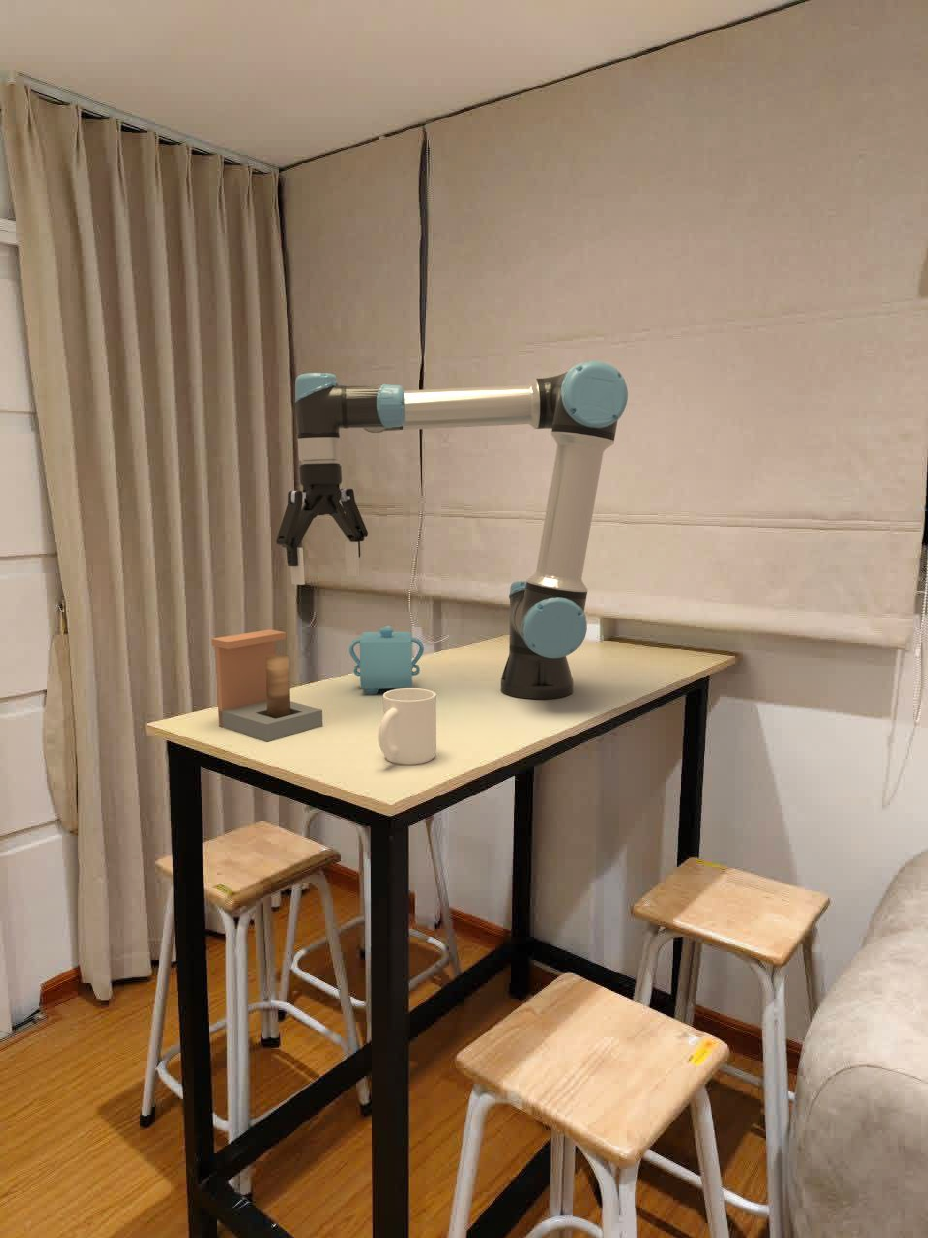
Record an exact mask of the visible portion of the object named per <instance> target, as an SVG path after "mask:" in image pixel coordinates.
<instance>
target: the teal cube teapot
mask: <svg viewBox="0 0 928 1238" xmlns="http://www.w3.org/2000/svg"><path fill="white" fill-rule="evenodd" d="M378 630H379V631H363V632H362V633H361V637H360V638H356V639H354V640H352V641H351V643H350V644H349V646H348V653H349V655H350V657H351V658H352V660H353V661H354V663H355V664H357V665H355V666H354V667H353V674H354V675H355V676H356V677H359V678H360V679H359V680H360V681H359V683H360V689H366V690H365V692H364V694H367V695H376V694H378V692H379V689H401V688H413V677H416V676H418V675H419V674H420V673H421V672H420V671H421V669H420V667H419V666H420V665H418V664H417V663H418V661H419V660H420V659H421V657H422V656H423V655H424V649H425V647H424V644H423V642H422V641H421V640H420V639H419V638H416V637H412V631H394V628H392V627H391V626H390V625H385V626H384V627H380V628H379V629H378ZM412 643H415V644H416V645H418V646H419V649H418V651H417V654H416V655H415V657H414V658H413V656H412V655H413V654H412V647H413V646H412ZM357 644H359V658H358V656H357V655H356V653H355V652H354V647H355V646H357ZM413 668H415V669H416V670H415V671H413ZM358 669H359V671H358Z"/></svg>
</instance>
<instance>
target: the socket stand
mask: <svg viewBox="0 0 928 1238" xmlns="http://www.w3.org/2000/svg"><path fill="white" fill-rule="evenodd" d="M287 638H288V637H287V632H286V631H281V630H276V629H271V628H270V629H264V630H259V631H251V632H245V633H239V634H233V635H227V636H220V637H214V638H211V646H213V647H214V649H215V671H216V673H215V674H216V689H217V690H216V691H217V712H218V713H217V714H218V715H217V716H218V727H220V728H224V729H226V730H230V731H233V732H235V733H239V734H243V735H245V736H248V737H251V738H255V739H258V740H260V741H264V742H271V741H275V740H278V739H281V738H282V739H283V738H285V737H288V736H293V735H295V734H298V733H303V732H306V731H309V730H314V729H316V728H320V727H321V728H322V727H323V709H321V708H316V707H313V706H310V705H305V704H302V703H298V702H293V701H291V700H290V715H288V716H284V717H281V718H277V719H275V718H271V717H268V716H267V696H266V664H265V657H266V656H268V655H273V654H277V653H276V641H281V640H282V641H283V640H287Z"/></svg>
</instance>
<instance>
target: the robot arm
mask: <svg viewBox="0 0 928 1238" xmlns="http://www.w3.org/2000/svg"><path fill="white" fill-rule="evenodd" d="M294 386H295V387H294V388H295V389H294V392H295V393H294V394H295V396H294V398H295V399H294V406H295V416H296V417H295V419H296V433H297V448H298V449H297V450H298V460H299V461H300V462H301V463H302V464H300V465H299V466H298V469H299V483H300V485H301V486H302V491H301V490H290V491H289V492H288V493H287V506H286V509H285V512H284V516H283V518H282V522H281V525H280V529H279V531H278V534H277V536H276V540H275V542H276V544H277V546H278V545H281V547H282V548H286V558H287V561H286V562H287V565H288V566H289V567H290V579H291V581H290V583H291V585H298V586H299V585H300V586H302V585H303V586H304V585H306V582H305V568H304V567H305V565H304V564H305V563H304V549H303V547H300V545H301V543H302V541H303V539H304V537H305V535H306V533H307V532H308V530H309V528H310V526H311V525H312V523H313V520H314V519H315V518H317V517H318V516H324V515H329V516H330V517H332V518H333V519H334V521H335V522H336V524H337V525H338V527H339V528H340V530H341V531H342V532H343V534H344V536H345V537H346V538H347V539H348V541H345V542H344V544H345V545H344V546H345V547H344V548H345V549H344V550H345V564H346V565H345V567H346V568H345V570H346V576H347V577H360V576H361V575H360V558H361V542H363V541H364V540H365V538H367V537H368V536H369V532H368V530H367V527H366V524H365V523H364V522H365V521H364V520H363V518H362V516H361V515H362V514H361V513H360V510H359V508H358V505H357V503H356V500H355V493H354V489H353V488H341V487H340V485H341V484H342V483H343V474H342V473H343V471H342V470H343V469H342V465H341V463H339V461H341V460H342V455H341V454H342V453H341V452H342V451H341V439H340V438H341V434H340V431H341V429H363V430H365V431H366V432H368V433H372V434H376V433H377V434H380V433H383V432H393V431H394V432H396V431H406V430H407V431H411V430H412V431H413V430H433V429H434V430H435V429H450V428H451V429H454V428H455V429H456V428H471V427H472V428H473V427H475V428H477V427H493V426H494V427H498V426H515V425H516V426H517V425H518V426H519V425H530V426H531V427H532V428H533V429H534V430H541V429H542V430H543V429H547V430H548V429H549V430H550V435H551V437H552V438H553V440H554V441H555V443H556V450H555V457H554V462H553V467H552V475H551V481H550V486H549V494H548V498H547V499H548V500H547V503H546V504H547V505H546V511H545V515H544V524H543V528H542V529H543V530H542V535H541V541H540V547H539V553H538V559H537V563H536V571H535V572H534V573H533V574H532V575H531V576H530V577H527V578H526V581H524V580H522V581H513V582H512V583H511V584H510V587H509V590H510V591H509V594H508V598H509V652H508V657H507V659H506V662H505V666H504V669H503V673H502V676H501V677H500V691H501V693H503V694H505V695H508V696H511V697H514V698H521V699H528V700H529V699H534V700H535V699H536V700H547V699H548V700H550V699H551V700H552V699H558V698H564V697H567V696H570V695H571V694H572V693H574V678H573V677H572V673H571V668H570V666H569V662H568V658H567V656H569V655H570V654H573V652H575V651H576V650H578V648H579V647H580V646H581V645H582V643H583V642H584V640H585V638H586V635H587V630H588V628H587V627H588V624H587V623H588V622H587V620H586V619H587V617H586V613H584V612H585V607H586V601H587V597H588V587H587V586H586V585H585V584H584V582H583V580H582V577H583V571H584V565H585V559H586V556H587V555H586V553H587V548H588V543H589V542H588V541H589V537H590V531H591V526H592V519H593V514H594V508H595V503H596V496H597V491H598V486H599V480H600V473H601V468H602V462H603V459H604V458H603V457H604V452H605V450H607V449H608V448H610V447H611V446H612V445H614V442H615V436H616V434H617V433H616V432H617V426H618V421H619V419H620V418H622V415H623V413H624V412H625V409H626V406H627V404H628V401H629V391H628V385H627V383H626V380H625V379H624V377H623V375H622V373H620V371H619V370H618V369H617V368H615V366H613V365H611V364H609V363H607V362H604V361H599V360H591V361H583V362H580V363H578V364H575V365H573V367H571V368H570V369H569V370H568V371H565V373H561V374H558V375H555V376H551V377H545V378H534V379H532V380H531V381H530V382H529V383H528V384H516V385H513V384H512V385H492V386H472V387H450V388H434V389H433V388H431V389H412V390H405V389H404V386H402V385H400V384H387V383H382V384H362V385H361V384H360V385H359V384H358V385H357V384H356V385H346V384H345V385H343V384H339V382H338V379H337V376H336V375H335V374H332V373H327V372H325V373H321V372H310V373H303V374H300V375H298V376H297V377H296V378H295V383H294ZM303 503H304V504H303Z"/></svg>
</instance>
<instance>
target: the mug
mask: <svg viewBox="0 0 928 1238" xmlns="http://www.w3.org/2000/svg"><path fill="white" fill-rule="evenodd" d="M436 696H437V695H436V692H435V691H433V690H430V689H426V688H420V687H419V688H417V687H415V688H414V687H412V688H401V689H395V688H393V689H390V690H387V691H386V692H384V693H383V694H382V712H383V713H382V715H383V716H382V717H381V720H380V722H379V727H378V735H377V736H378V746H379V748H380V751H381V752H382V754H383V755H384V758H385V759H386V760H387V761H388V762H390V763H393V764H396V765H401V766H402V765H403V766H413V765H421V764H426V763H428V762H431V761H432V760H433V759H434V758H435V757H436V753H437V752H436V751H437V735H436V734H437V705H436V704H437V697H436Z"/></svg>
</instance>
